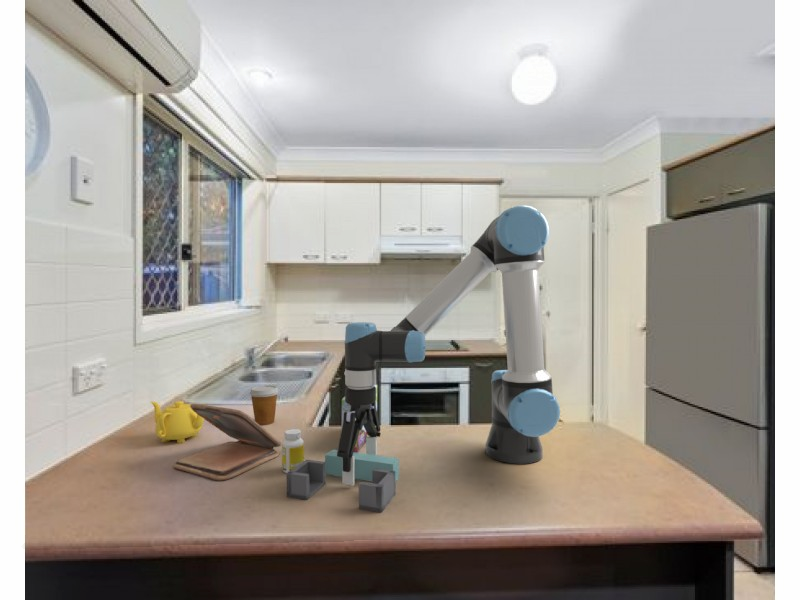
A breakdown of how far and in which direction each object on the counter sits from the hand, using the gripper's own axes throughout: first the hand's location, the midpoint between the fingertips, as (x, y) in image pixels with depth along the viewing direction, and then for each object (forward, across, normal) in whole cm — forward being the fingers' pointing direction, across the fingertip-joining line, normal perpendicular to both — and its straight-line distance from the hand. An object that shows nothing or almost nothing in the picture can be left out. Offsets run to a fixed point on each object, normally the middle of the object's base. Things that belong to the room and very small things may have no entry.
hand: (360, 472), depth 107 cm
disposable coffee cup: (+1, -30, -50) cm, 58 cm away
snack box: (+1, -24, -11) cm, 26 cm away
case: (+2, +2, -38) cm, 38 cm away
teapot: (+2, -7, -65) cm, 65 cm away
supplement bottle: (+1, +2, -18) cm, 18 cm away
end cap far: (+1, +11, -8) cm, 14 cm away
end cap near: (+1, +11, +9) cm, 14 cm away
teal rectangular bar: (+1, 0, 0) cm, 1 cm away
